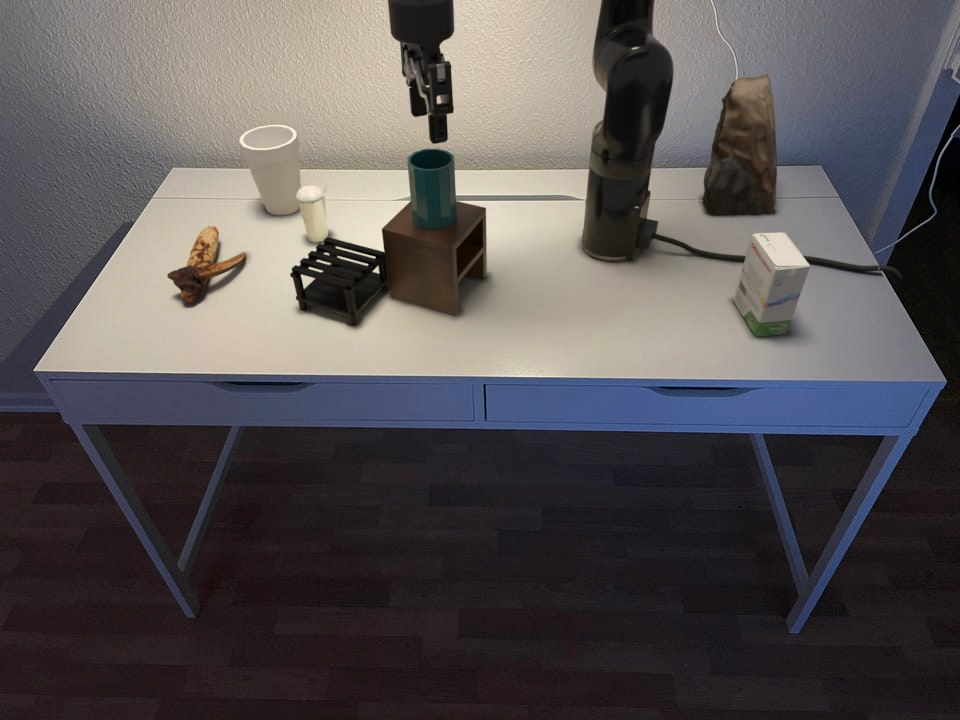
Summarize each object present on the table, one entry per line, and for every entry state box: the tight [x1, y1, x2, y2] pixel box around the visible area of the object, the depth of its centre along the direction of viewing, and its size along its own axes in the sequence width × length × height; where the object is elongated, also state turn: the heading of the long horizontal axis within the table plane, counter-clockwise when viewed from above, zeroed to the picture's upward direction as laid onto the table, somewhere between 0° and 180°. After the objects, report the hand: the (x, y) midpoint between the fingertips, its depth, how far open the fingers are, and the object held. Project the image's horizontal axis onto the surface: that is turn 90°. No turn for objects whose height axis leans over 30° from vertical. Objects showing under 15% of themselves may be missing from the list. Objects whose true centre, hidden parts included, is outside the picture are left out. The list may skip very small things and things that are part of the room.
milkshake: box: [296, 184, 329, 244], centre depth 117 cm, size 4×5×10 cm
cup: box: [406, 148, 457, 230], centre depth 99 cm, size 6×6×9 cm
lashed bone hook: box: [166, 226, 246, 303], centre depth 112 cm, size 9×5×18 cm
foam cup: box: [238, 124, 302, 216], centre depth 124 cm, size 10×9×13 cm
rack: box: [289, 236, 389, 327], centre depth 106 cm, size 10×10×7 cm
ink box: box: [732, 231, 811, 338], centre depth 99 cm, size 8×5×12 cm, turn 6°
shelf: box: [381, 200, 488, 317], centre depth 106 cm, size 11×11×12 cm
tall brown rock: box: [701, 73, 778, 216], centre depth 121 cm, size 13×13×20 cm
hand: (428, 128), depth 93 cm, fingers open, 8 cm apart
